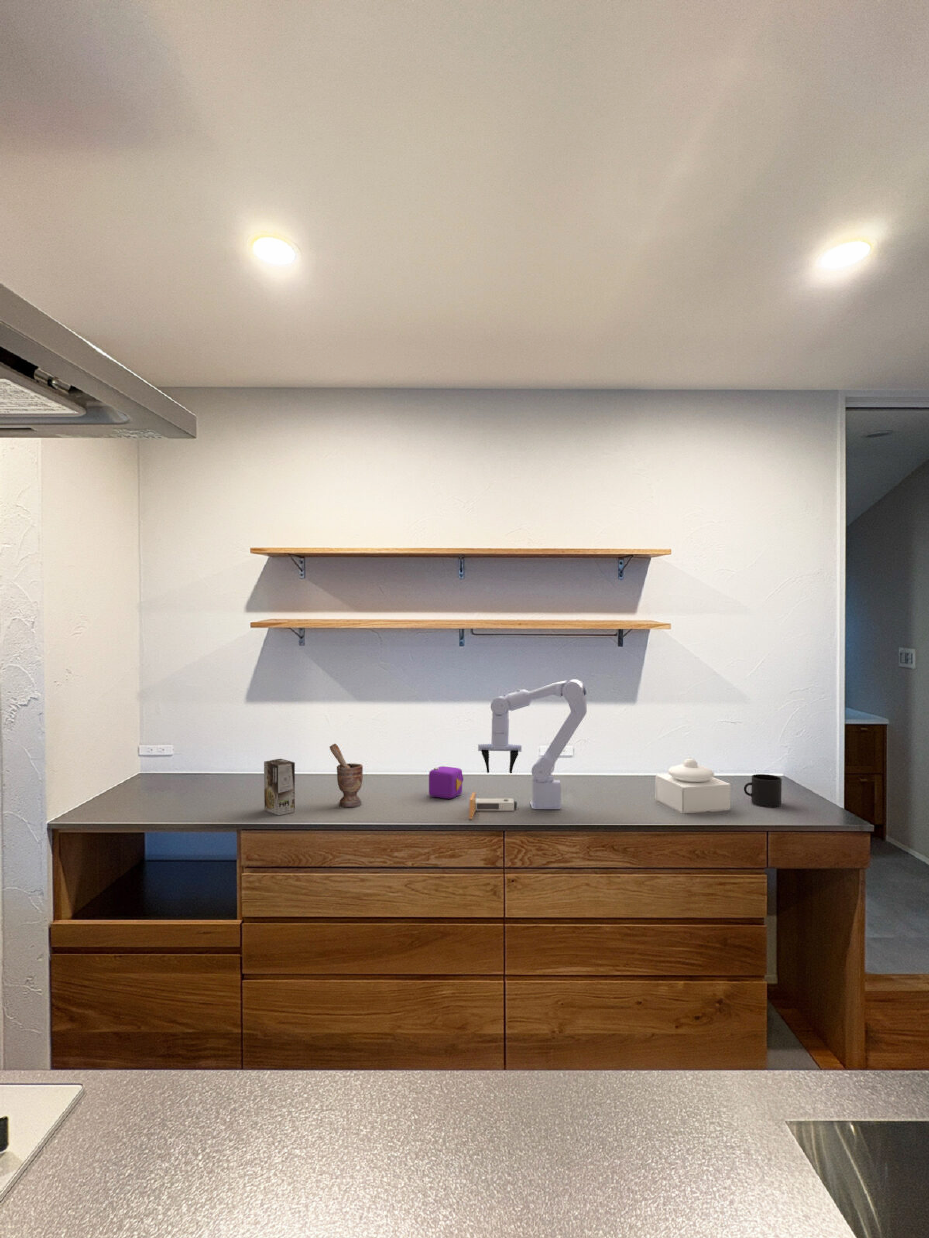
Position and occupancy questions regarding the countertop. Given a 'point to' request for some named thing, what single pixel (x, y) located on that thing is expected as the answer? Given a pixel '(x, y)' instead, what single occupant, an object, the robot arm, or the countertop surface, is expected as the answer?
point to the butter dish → (692, 789)
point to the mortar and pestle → (348, 779)
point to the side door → (472, 805)
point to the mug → (765, 790)
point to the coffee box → (279, 786)
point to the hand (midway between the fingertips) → (499, 772)
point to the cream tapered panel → (495, 805)
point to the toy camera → (445, 782)
